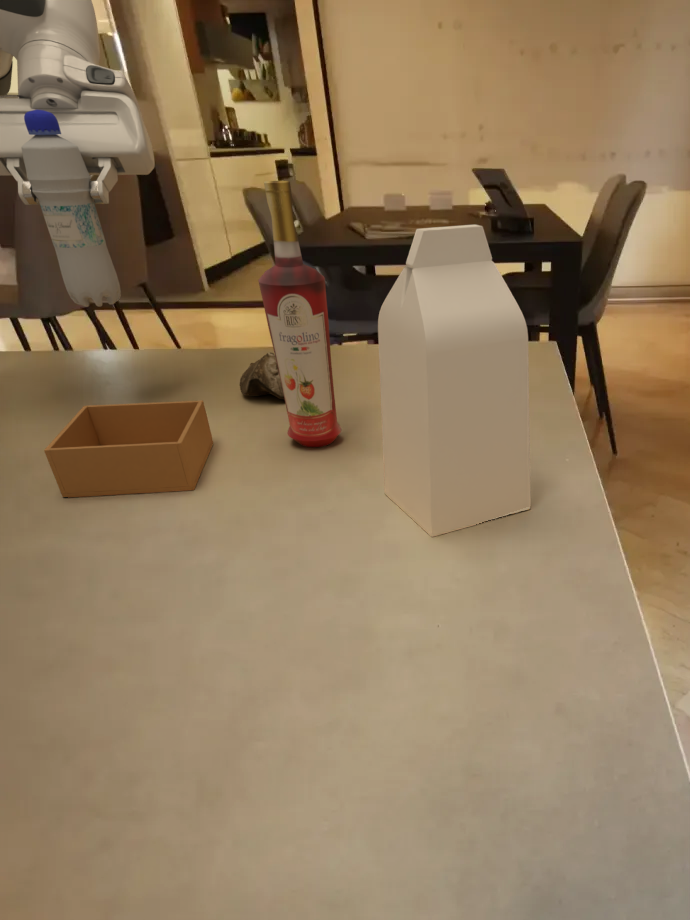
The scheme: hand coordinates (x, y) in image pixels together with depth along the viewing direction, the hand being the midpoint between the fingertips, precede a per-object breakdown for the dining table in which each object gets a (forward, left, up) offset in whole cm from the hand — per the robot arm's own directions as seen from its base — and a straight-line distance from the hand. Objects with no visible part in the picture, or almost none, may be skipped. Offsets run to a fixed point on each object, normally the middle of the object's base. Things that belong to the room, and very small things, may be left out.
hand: (64, 200), depth 83 cm
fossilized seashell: (+20, +4, -25) cm, 32 cm away
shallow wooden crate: (+7, -21, -25) cm, 33 cm away
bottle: (0, +1, -12) cm, 12 cm away
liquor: (+26, -15, -25) cm, 40 cm away
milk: (+43, -35, -25) cm, 61 cm away
